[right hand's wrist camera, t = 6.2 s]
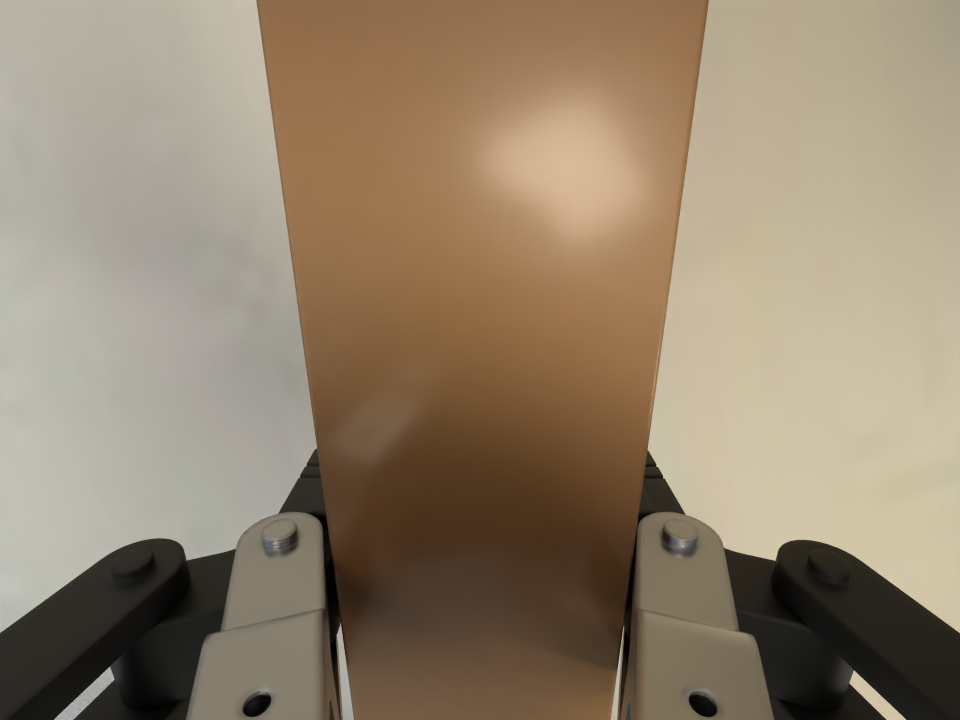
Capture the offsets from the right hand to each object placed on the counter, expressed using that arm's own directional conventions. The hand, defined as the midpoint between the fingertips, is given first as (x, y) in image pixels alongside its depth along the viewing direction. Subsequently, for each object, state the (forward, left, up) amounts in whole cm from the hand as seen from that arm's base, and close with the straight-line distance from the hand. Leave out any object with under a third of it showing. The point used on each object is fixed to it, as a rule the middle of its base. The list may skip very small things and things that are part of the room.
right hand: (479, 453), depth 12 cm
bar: (+8, -25, -2) cm, 26 cm away
